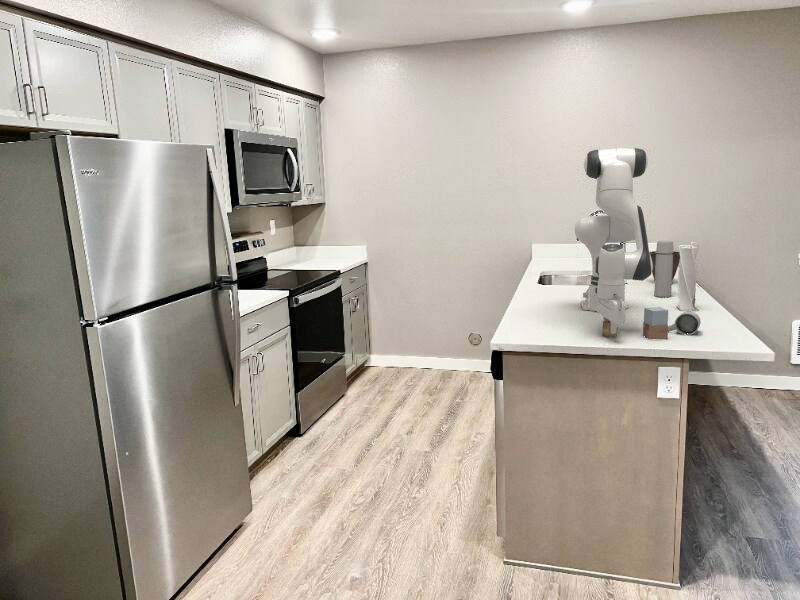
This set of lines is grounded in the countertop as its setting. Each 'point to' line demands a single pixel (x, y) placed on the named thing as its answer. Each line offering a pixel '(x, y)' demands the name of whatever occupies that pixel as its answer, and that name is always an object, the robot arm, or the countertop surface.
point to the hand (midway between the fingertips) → (609, 330)
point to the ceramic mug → (686, 323)
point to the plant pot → (675, 262)
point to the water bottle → (663, 269)
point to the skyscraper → (687, 277)
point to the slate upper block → (656, 316)
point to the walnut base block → (655, 331)
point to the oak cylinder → (608, 329)
